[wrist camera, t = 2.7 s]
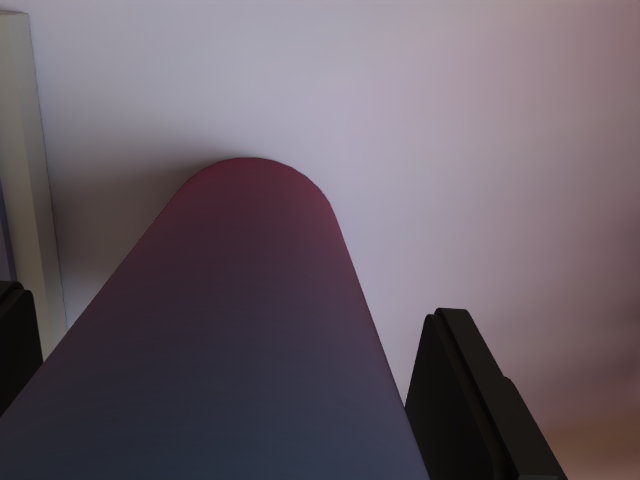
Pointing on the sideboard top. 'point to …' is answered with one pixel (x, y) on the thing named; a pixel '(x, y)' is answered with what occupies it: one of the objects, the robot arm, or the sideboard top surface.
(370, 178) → the sideboard top surface
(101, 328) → the cup
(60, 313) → the ink pad
